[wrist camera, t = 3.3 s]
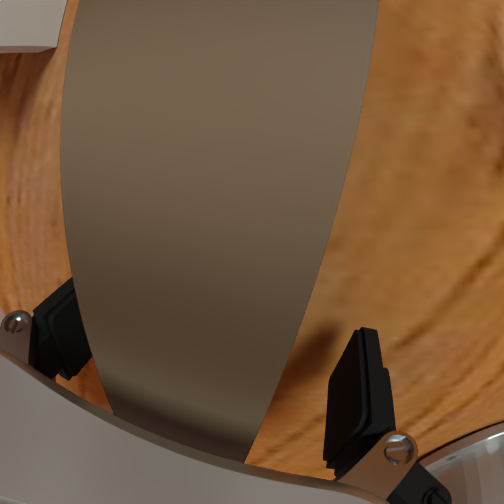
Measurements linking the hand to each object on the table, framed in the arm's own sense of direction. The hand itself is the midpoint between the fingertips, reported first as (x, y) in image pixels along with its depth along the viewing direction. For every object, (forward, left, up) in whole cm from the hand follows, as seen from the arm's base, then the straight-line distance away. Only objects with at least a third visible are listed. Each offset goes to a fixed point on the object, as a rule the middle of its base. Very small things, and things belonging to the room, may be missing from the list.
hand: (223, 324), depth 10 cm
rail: (+4, 0, -1) cm, 4 cm away
